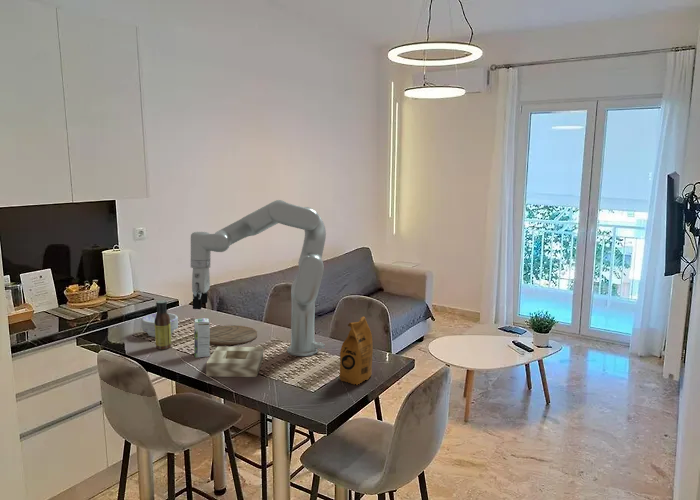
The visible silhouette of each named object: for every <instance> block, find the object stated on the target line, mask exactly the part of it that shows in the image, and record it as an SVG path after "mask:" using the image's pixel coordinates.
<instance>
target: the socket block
mask: <svg viewBox="0 0 700 500" xmlns="http://www.w3.org/2000/svg"><path fill="white" fill-rule="evenodd" d="M263 360H264V347H262V346H261V347H259V346H258V347H257V346H217V347H216V348H215V349H214V351H213V352H212V354H210V356H209V358H208V359H207V361H206V365H205V366H206V367H205V370H206V371H205V373H206V374H205V375H206V377H225V378H226V377H235V378H237V377H240V378H241V377H242V378H244V377H245V378H257V377H258V374H259V372H260V369H261V367H262V363H263Z"/></svg>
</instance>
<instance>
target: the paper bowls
mask: <svg viewBox="0 0 700 500" xmlns="http://www.w3.org/2000/svg"><path fill="white" fill-rule="evenodd" d="M167 313H168V312H167ZM156 314H157V313H152V314H148V315H146V316H143V317H142V319H141V321H142V322H141V330H142V331H143V332H145V333H147V335H148V336H149V337H153V338H155V323H154V321H155V318H156ZM168 314H169V317H170V324H171V335H172V334H173V333H174V331H175V330H176V329H178V328H179V317H178V315H177V314H174V313H170V312H169V313H168Z"/></svg>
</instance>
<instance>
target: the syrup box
mask: <svg viewBox="0 0 700 500" xmlns="http://www.w3.org/2000/svg"><path fill="white" fill-rule="evenodd" d="M193 324H194V329H193V332H194V334H193V335H194V336H193V337H194V338H193V339H194V341H193V342H194V345H193V347H194V348H193V352H194V357H195V359H196V358H207V357H211V353H210V351H211V349H210V346H211V345H210V328H211V327H210V325H211V324H210V319H209V318H207V317H206V318H205V317H203V318H194V323H193Z"/></svg>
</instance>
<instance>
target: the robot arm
mask: <svg viewBox="0 0 700 500" xmlns="http://www.w3.org/2000/svg"><path fill="white" fill-rule="evenodd" d="M278 224H280V225H284V226H286V227H287V226H288V227H291V228H295V229H299V230H304V239H303V244H302V247H301V248H302V249H301V252H300V256H299V258H298V265H297V266H298V269H299V270H298V273H297V278H295V279H294V280H293V282H292V284H291V287H290V290H291V292H290V295H291V296H290V297H291V315H290V316H291V317H290V318H291V323H290V328H291V329H290V334H291V335H290V339H291V341H290V345H289V346H288V347H287V353H288V354H289V355H291V356H296V357H310V356H313V355H315V354H317V353H318V352H319V351H318V349H326V347H325V346H326V344H325V343H323V342H317V341H316V339H315V314H316V313H315V310H316V307H315V305H316V300H317V297H318V295H319V291H320V287H321V283H322V279H323V275H324V270H325V267H324V265H325V264H324V262H323V259H322V258H323V252H324V248H325V244H326V243H325V242H326V235H327V233H326V231H327V230H326V226H325V223H324V221H323V219H322V218H321V216H320V215H319V214H318V212H317V210H315V209H313V208H312V207H310V206H304V207H303V206H300V205H295V204H292V203H289V202H286V201H285V200H282V199H276V200H274V201H271V202H270V203H268V204H266V205H264V206H262V207H260V208H258V209H257V210H255V211H253V212H251V213H248V214H247V215H246V216H243V217H242V218H240V219H238V220H236V221H234V222H233V223H230V224H229V225H227V226H225V227H223V228H221V229H219V230H218V231H216V232H215V233H209V232H207V231H193V232H192V233H191V234H190V268H191V269H192V275H191V276H192V277H191V291H192V310H202V304H207V303H208V292H209V290H210V288H211V279H210V278H211V277H210V275H211V274H210V268H211V252H213V253H214V252H215V253H224V252H227V251H228V249H229V248H230V246H232V245H234V244H235V243H238V242H239V241H241V240H243V239H246V238H247V237H253V236H256V235H258V234H261V233H263V232H265V231H266V230H268V229H270V228H272V227H274V226H276V225H278Z"/></svg>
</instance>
